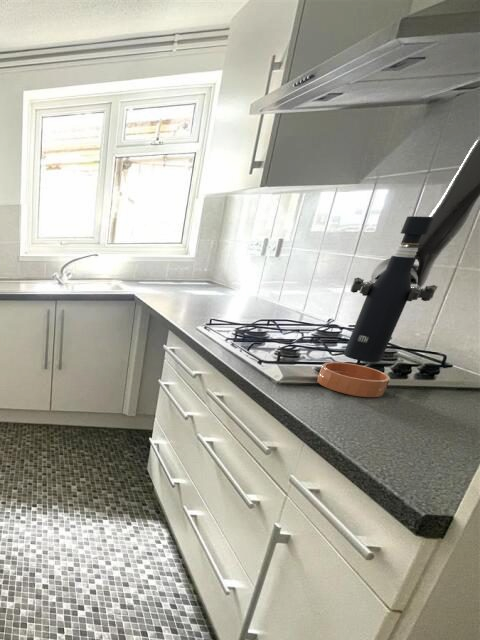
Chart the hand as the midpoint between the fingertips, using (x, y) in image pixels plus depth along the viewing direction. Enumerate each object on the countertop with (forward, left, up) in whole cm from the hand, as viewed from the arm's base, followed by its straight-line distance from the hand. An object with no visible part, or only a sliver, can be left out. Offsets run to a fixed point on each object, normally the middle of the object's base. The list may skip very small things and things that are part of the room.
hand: (388, 293), depth 88 cm
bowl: (-4, -2, -24) cm, 24 cm away
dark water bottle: (-2, -1, -15) cm, 15 cm away
